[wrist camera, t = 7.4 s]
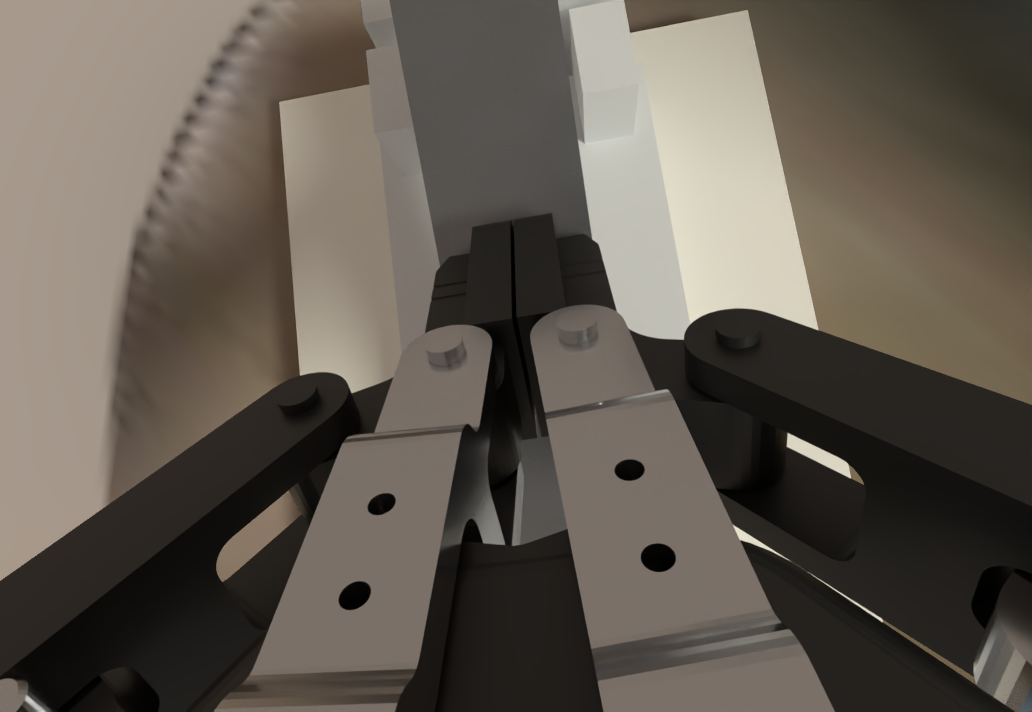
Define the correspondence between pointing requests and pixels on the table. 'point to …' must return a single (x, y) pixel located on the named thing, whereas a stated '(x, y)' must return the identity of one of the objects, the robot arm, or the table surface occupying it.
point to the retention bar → (495, 149)
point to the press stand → (607, 179)
